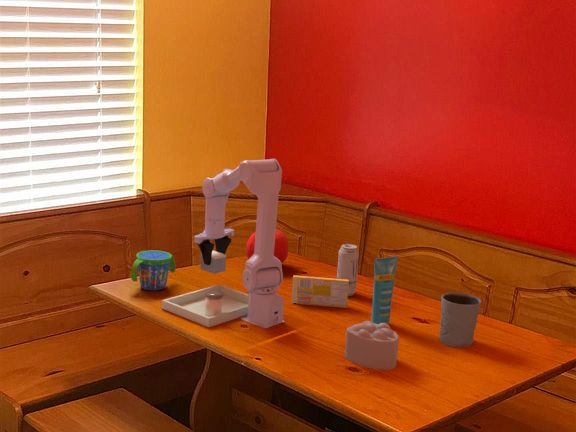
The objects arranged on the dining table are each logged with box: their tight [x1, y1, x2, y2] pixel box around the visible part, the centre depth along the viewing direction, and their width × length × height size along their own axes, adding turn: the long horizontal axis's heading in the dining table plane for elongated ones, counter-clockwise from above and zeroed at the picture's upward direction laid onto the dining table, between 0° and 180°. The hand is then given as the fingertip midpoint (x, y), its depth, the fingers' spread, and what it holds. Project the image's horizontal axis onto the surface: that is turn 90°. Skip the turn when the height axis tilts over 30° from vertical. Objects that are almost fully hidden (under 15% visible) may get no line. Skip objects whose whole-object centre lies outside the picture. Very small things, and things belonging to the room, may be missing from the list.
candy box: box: [291, 274, 349, 309], centre depth 242 cm, size 16×2×8 cm, turn 84°
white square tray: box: [161, 284, 249, 328], centre depth 232 cm, size 19×22×3 cm
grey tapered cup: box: [439, 292, 482, 349], centre depth 219 cm, size 10×10×12 cm
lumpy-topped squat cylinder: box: [344, 320, 400, 370], centre depth 205 cm, size 10×13×9 cm
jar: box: [205, 291, 223, 317], centre depth 225 cm, size 5×5×7 cm
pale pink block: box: [199, 250, 227, 275], centre depth 247 cm, size 6×5×5 cm
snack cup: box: [130, 249, 177, 292], centre depth 248 cm, size 16×10×10 cm
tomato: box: [245, 225, 289, 264], centre depth 273 cm, size 16×14×14 cm
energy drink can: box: [336, 243, 360, 297], centre depth 252 cm, size 6×6×15 cm
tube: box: [370, 255, 399, 326], centre depth 228 cm, size 7×5×19 cm, turn 123°
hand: (213, 262), depth 247 cm, fingers closed on pale pink block, 4 cm apart
